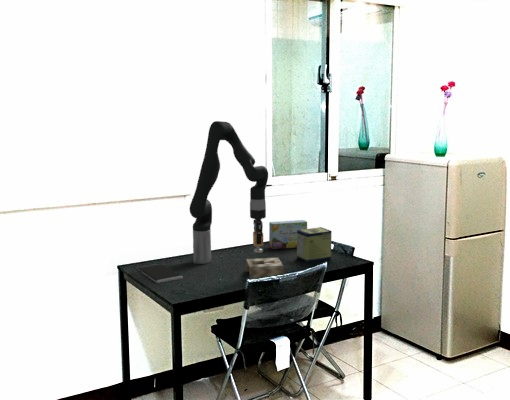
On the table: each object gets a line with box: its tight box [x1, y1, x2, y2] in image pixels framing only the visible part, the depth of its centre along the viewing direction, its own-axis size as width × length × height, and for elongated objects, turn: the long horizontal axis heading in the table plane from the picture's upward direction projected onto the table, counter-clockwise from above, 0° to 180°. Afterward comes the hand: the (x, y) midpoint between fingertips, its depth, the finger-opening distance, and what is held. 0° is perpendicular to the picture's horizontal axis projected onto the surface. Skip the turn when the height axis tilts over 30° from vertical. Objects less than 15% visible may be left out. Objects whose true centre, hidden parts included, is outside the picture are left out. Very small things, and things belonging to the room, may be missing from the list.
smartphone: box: [137, 263, 184, 284], centre depth 288 cm, size 13×27×2 cm, turn 31°
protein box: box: [296, 226, 333, 264], centre depth 310 cm, size 10×16×16 cm
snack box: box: [268, 219, 308, 250], centre depth 335 cm, size 21×6×15 cm, turn 105°
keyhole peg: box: [252, 231, 264, 254], centre depth 282 cm, size 4×4×9 cm
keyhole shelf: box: [245, 257, 284, 280], centre depth 285 cm, size 16×14×6 cm
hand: (258, 242), depth 282 cm, fingers closed on keyhole peg, 4 cm apart
